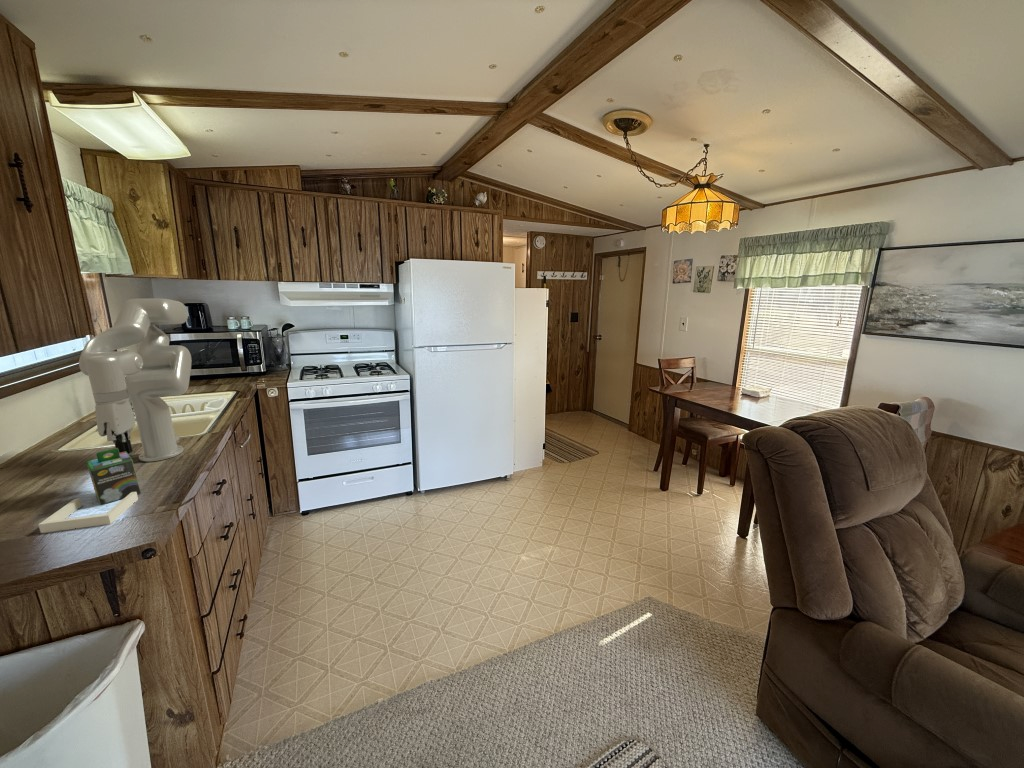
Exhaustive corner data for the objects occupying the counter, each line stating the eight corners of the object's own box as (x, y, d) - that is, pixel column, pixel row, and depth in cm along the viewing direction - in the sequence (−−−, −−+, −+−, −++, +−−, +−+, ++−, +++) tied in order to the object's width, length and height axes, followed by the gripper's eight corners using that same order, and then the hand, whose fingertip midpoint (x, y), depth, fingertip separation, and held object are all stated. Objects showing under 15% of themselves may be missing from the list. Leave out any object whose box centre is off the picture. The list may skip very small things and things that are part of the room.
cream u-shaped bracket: (76, 506, 117) (74, 498, 116) (138, 499, 121) (136, 491, 120) (41, 533, 105) (38, 524, 104) (110, 523, 109) (108, 515, 108)
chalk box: (135, 484, 130) (124, 440, 126) (142, 493, 124) (131, 448, 121) (94, 495, 123) (82, 449, 119) (99, 506, 117) (86, 458, 114)
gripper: (111, 391, 130) (124, 446, 134) (78, 404, 116) (94, 464, 120) (140, 389, 132) (152, 443, 136) (111, 401, 118) (125, 461, 122)
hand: (125, 453), depth 128 cm, fingers closed
